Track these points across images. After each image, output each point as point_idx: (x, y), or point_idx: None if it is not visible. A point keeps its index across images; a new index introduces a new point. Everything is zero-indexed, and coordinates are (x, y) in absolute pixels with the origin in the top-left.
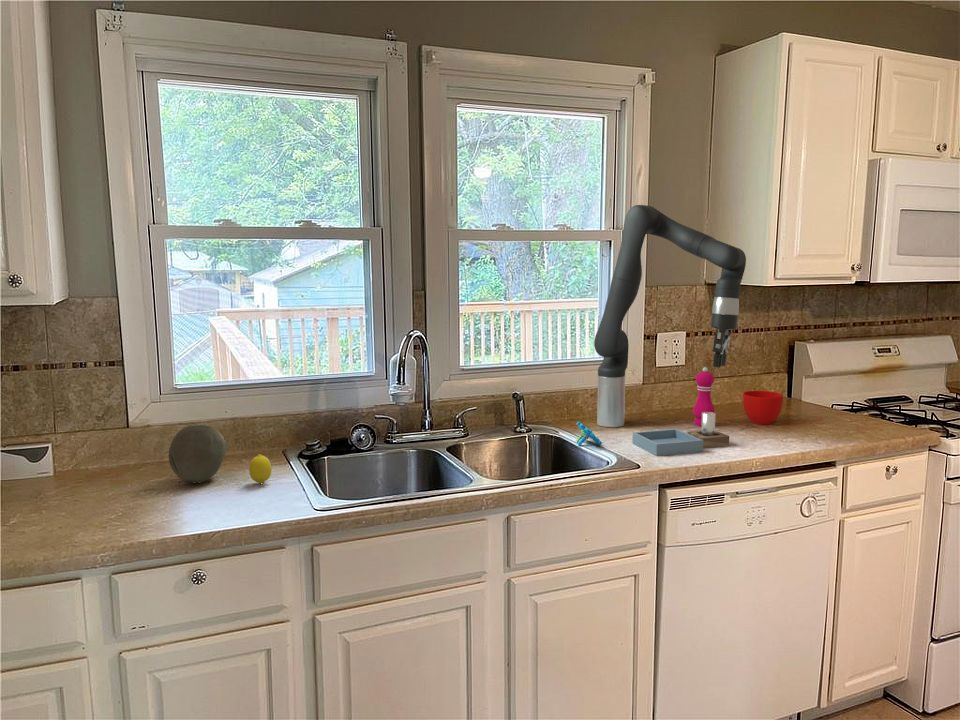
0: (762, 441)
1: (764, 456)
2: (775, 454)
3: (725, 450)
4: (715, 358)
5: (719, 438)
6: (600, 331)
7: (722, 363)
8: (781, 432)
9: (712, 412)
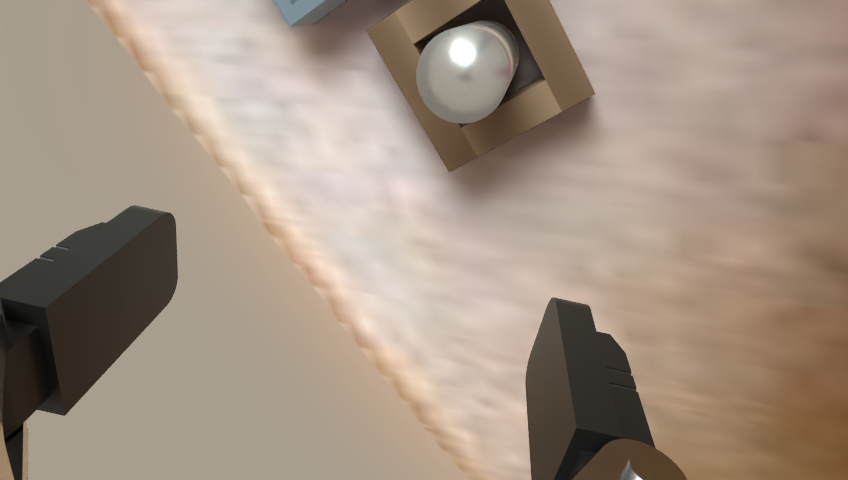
0: None
1: (321, 274)
2: (361, 317)
3: (369, 134)
4: (23, 277)
5: (420, 118)
6: None
7: (535, 364)
8: (758, 420)
9: (494, 105)
